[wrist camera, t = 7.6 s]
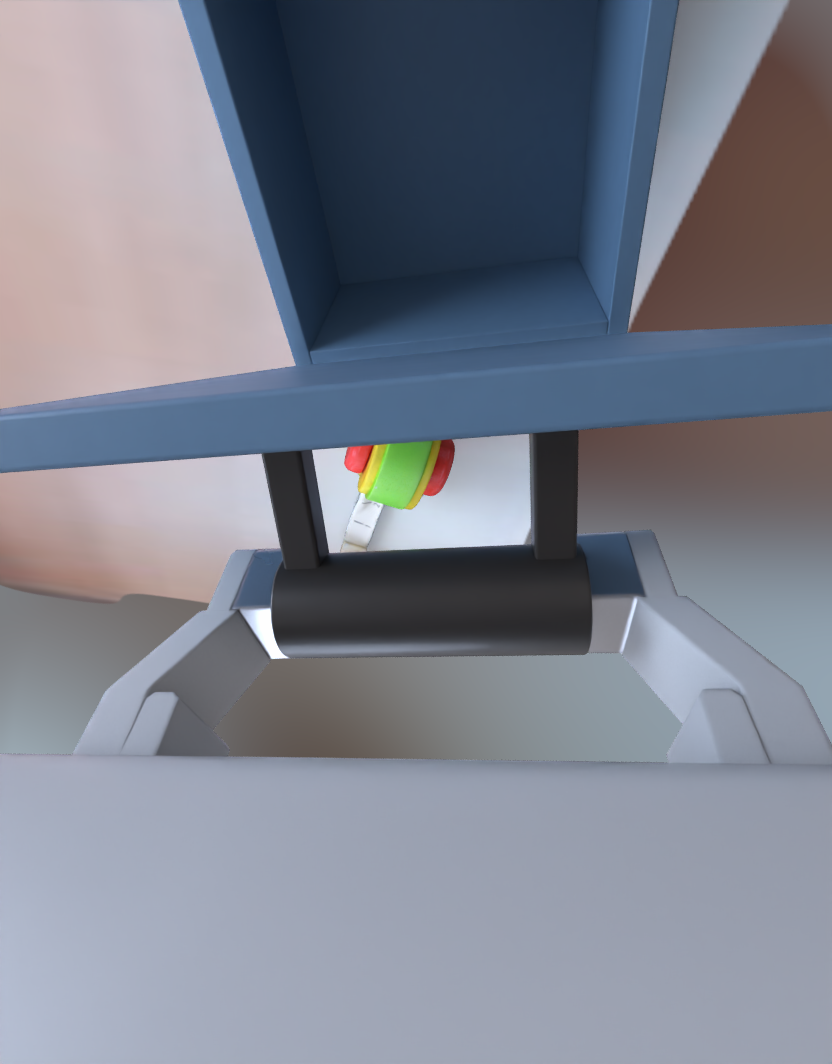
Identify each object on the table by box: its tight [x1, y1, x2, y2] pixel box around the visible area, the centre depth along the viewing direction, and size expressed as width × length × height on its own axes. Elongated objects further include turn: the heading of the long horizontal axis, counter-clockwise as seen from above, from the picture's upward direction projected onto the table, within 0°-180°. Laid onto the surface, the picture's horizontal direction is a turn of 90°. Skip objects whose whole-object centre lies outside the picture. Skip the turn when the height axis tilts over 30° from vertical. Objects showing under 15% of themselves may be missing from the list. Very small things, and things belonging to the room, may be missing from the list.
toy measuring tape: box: [340, 439, 455, 553], centre depth 35 cm, size 6×19×7 cm, turn 159°
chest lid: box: [0, 324, 832, 658], centre depth 15 cm, size 16×14×5 cm
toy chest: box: [178, 0, 679, 366], centre depth 19 cm, size 16×14×9 cm
